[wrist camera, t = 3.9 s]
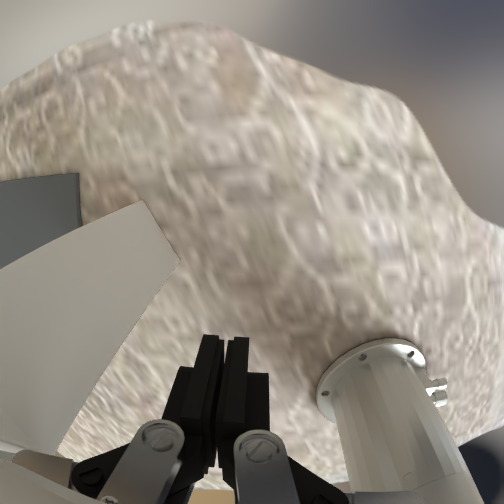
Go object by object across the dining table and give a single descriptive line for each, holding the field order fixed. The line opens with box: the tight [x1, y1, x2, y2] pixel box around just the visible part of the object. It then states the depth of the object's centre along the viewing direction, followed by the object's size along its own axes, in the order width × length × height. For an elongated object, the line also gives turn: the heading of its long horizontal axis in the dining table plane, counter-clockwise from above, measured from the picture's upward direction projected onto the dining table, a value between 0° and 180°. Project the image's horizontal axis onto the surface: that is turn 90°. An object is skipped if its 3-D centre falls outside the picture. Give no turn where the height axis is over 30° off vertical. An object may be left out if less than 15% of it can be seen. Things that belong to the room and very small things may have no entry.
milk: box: [0, 200, 180, 455], centre depth 13 cm, size 6×6×22 cm
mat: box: [0, 173, 82, 269], centre depth 23 cm, size 24×13×1 cm, turn 87°
